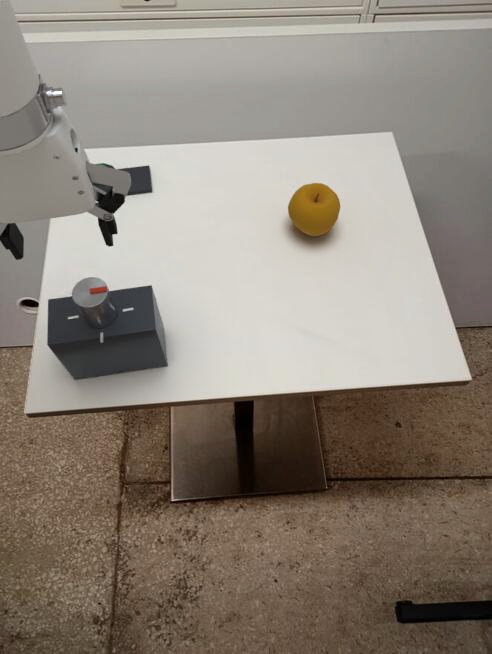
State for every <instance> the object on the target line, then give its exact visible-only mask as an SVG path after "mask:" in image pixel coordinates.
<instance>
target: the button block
mask: <svg viewBox="0 0 492 654" xmlns="http://www.w3.org/2000/svg"><path fill="white" fill-rule="evenodd" d="M95 164H96V165H97V164H98V163H95ZM99 164H101V165H104V166H106V167H109V168H113V169H116V168H115V166H113V165H112V164H108V163H104V162H103V163H102V162H101V163H99ZM117 169H118V170H122V171H126V172H128V173H129V174H130V179H131V186H130V188H129V191H128V193H127V195H126V196H131V195H133V196H134V195H141V194H148V193H149V194H150V193H153V185H152V174H151V167H150V164H148V165H139V166H133V167H132V166H131V167H124V168H117ZM92 185H94V186H95V187H97V188H99V189H101V190H103V191H104V192H106V193H107V192H108V191H109V190H110V189H111V188H112V186H107V185H103V184H102V185H95V184H93V183H92Z"/></svg>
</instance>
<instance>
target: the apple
mask: <svg viewBox="0 0 492 654" xmlns="http://www.w3.org/2000/svg"><path fill="white" fill-rule="evenodd" d="M340 201H341V200H340V198H339V195H338V194H337V193H336V192H335V191H334V190H333V189H332V188H331V187H330V186H328V185H326V184H324V183H319V182H313V183H307V184H304V185H302V186H300V187H299V188H298V189H297V190H295V192H294V193H293V195H292V196H291V198H290V200H289V203H288V206H287V211H288V217H289V219H290V221H291V223H292V224H293V225H294V226H295V227H296V228H297V229H298V230H299V231H301V232H302V233H303V234H306V235H307V236H309V237H320V236H322V235H324V234H326V233H328V232H329V231H330V230H331V229H333V227H334V226H335V225H336V223H337V222H338V219H339V214H340V210H341V202H340Z"/></svg>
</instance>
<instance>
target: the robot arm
mask: <svg viewBox="0 0 492 654" xmlns="http://www.w3.org/2000/svg"><path fill="white" fill-rule="evenodd" d="M65 106H66V107H67V99H66V94H65V91H64V89H63V87H53V86H48V85H47V82H44V80H43V77H42V75H41V74H39V73H38V71H37V68H36V66H35V63H34V60H33V57H32V55H31V53H30V50H29V48H28V45H27V43H26V40H25V37H24V35H23V32H22V29H21V27H20V24H19V21H18V19H17V16H16V14H15V11H14V8H13V7H12V3H11V0H0V243H1V244H2V246H3V247H4V250H7V251H8V250H9V251H10V253H11V254H12V256H13V258H14V259H15V260H16V261H19V260H22V259H24V254H25V253H24V251H25V250H24V249H25V248H24V246H25V245H24V244H25V238H24V235H23V233H22V232H21V230H20V229H19V227H18V225H17V224H18V223H26V222H27V223H28V222H34V221H35V222H36V221H43V220H49V219H51V220H52V219H56V218H57V219H58V218H64V217H70V216H76V215H82V214H85V213H88V214H91V215H92V216H94V217H96V218H97V223H98V227H99V230H100V232H101V235H102V238H103V240H104V244H105V246H106V247H114V235H118V225H117V220H116V218H115V215H114V214H115V213H116V212H117V211H118V210H119V209H120V208H121V207H122V206H123V205H124V204H125V202H126V197H127V196H128V195H127V193H128V191H129V188H130V186H131V179H130V174H129V173H128V172H126V171H122V170H118V169H119V168H115V169H113V168H109V167H105V166H100V165H96V164H97V163H92V162H90V160H89V157H88V155H87V152H86V150H85V148H84V146H83V144H82V142H81V139H80V137H79V135H78V133H77V131H76V130H75V128H74V126H73V124H72V122H71V120H70V118H69V117H68V115H67V114H66V112H65V111H64V109H63V108H62V107H65ZM92 183H98V184H103V185H107V186H112V188H111V189H110V190H109V191H108V192H107V193H106V192H104V191H103V190H101V189H99V188H97V187H95V186H94V185H92Z"/></svg>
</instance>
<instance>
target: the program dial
mask: <svg viewBox="0 0 492 654" xmlns="http://www.w3.org/2000/svg"><path fill="white" fill-rule="evenodd" d="M110 291H111V290H109V287H108V285H107V283H106V282H105V281H104V279H101V278H99V277H94V276H93V277H91V276H90V277H84V278H82V279H81V280H79V281H78V282H76V283H75V285H74V286H73V288H72V290H71V296H72V298H73V301H74V302H75V304H76V306H77V307H78V309H79V311H80V313H81V314H82V316H83V318H84V320H85V321H86V323H87V324H88V325H89V326H91V327H94V328H104V327H107V326H109V325H110V324H112V323H113V322H114V320H115V319H116V317H117V307H116V305H115V303H114V300H113V298H112V296H111V294H110Z"/></svg>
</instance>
